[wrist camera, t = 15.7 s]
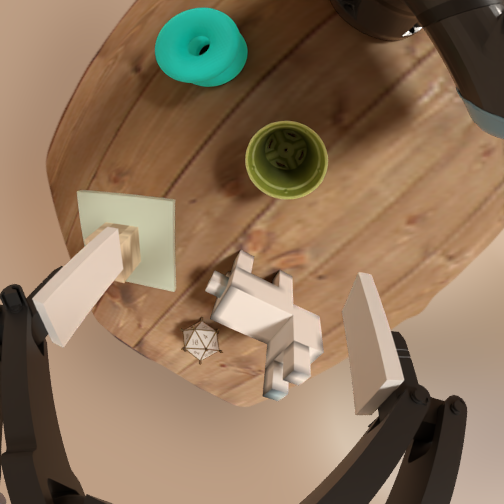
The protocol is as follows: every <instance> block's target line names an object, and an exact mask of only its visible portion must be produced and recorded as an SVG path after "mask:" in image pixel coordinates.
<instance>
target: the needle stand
mask: <svg viewBox="0 0 504 504" xmlns="http://www.w3.org/2000/svg"><path fill="white" fill-rule="evenodd" d="M77 198H78V207H79V215H80V222H81V229H82V235H83V241H84V247H85V246H86V245H85V239H86V238H87V237H88V236H90V235H91V234H92V233H93V232H94V231H96V230H97V229H98V228H99V227H100V226H102V225H103V224H104V223H105V222H108V223H115V224H122V225H128V226H135V227H138V230H139V244H140V255H141V262H140V263H139V265H138V266H137V267H136V268H135V270H134V271H133V272H132V274H131V275H130V276H129V278H128V279H127V280H126V281H127V282H131V283H136V284H140V285H145V286H149V287H154V288H159V289H163V290H168V291H173V292H175V290H176V271H175V199H168V198H159V197H150V196H141V195H132V194H122V193H112V192H101V191H89V190H79V191H77Z"/></svg>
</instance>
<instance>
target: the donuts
mask: <svg viewBox="0 0 504 504" xmlns="http://www.w3.org/2000/svg"><path fill="white" fill-rule="evenodd" d="M208 44H210V46H209V49H208V50H207V51H206V52H205V53H204V54H202V55H199V53H200V50H201V49H202V48H203V47H204V46H205V45H208ZM247 54H248V50H247V45H246V42H245V40H244V38H243V36H242V35H241V34H240V33H239V30H238V28H237V26H236V24H235V23H234V21H233V20H232V19H231V18H230V17H229V16H228V15H226V14H225V13H223V12H221V11H218V10H215V9H211V8H194V9H190V10H186V11H184V12H182V13H180V14H178V15H176V16H174V17H173V18H172V19H170V20H169V21H168V22H167V23H166V24H165V25H164V27H163V28H162V29H161V31H160V33H159V35H158V37H157V40H156V44H155V56H156V60H157V63H158V65H159V66H160V68H161V69H162V71H163V72H164V73H165V74H167V75H168V76H169V77H171V78H173V79H175V80H177V81H181V82H186V83H193V84H195V85H199V86H204V87H213V86H219V85H222V84H225V83H227V82H229V81H230V80H232V79H233V78H235V77H236V76H237V75H238V74H239V73H240V72H241V70H242V69H243V67H244V65H245V63H246V60H247Z"/></svg>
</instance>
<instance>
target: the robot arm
mask: <svg viewBox="0 0 504 504" xmlns="http://www.w3.org/2000/svg"><path fill="white" fill-rule="evenodd" d="M330 1H331V3H332V5H333V7H334V8H335V10H336V11H337V12H338V14H339V15H340V16H341V17H342V18H343V19H344V20H345V21H346V22H348V23H349V24H350V25H351V26H353V27H354V28H356V29H357V30H359V31H361V32H363V33H365V34H367V35H369V36H372V37H375V38H378V39H383V40H402V39H405V38H408V37H410V36H412V35H414V34H416V33H417V32H419V31H420V30H421V29H422V28H423V29H424V30H425V32H426V33H427V35H428V36H429V38H430V39H431V41H432V43H433V44H434V46H435V48H436V49H437V51H438V53H439V54H440V56H441V58H442V60H443V61H444V63H445V65H446V67H447V69H448V71H449V73H450V75H451V77H452V79H453V81H454V83H455V85H456V90H457V92H458V94H459V96H460V97H461V98H462V100H463V101H464V104H465V106H466V108H467V110H468V112H469V115H470V117H471V118H472V120H473V121H474V122H475V123H476V124H477V125H478V126H479V127H480V128H481V129H482V130H483V131H485V132H487V133H488V134H490V135H493V136H495V137H498V138H501V139H504V0H330ZM122 270H123V263H122V256H121V248H120V240H119V232H118V229H117V228H112V227H107V228H105V229H104V230H103V231H102V232H101V233H100V234H98V235H97V236H96V237H95V238H94V239H93V240H92V241H90V242H89V243H88V244H87V245H86V246H85V247H84V248H83V249H82V250H80V251H79V252H78V253H77V254H76V255H75V256H74V257H73V258H72V259H71V260H70V261H69V262H68V263H67V264H66V265H65V266H64V267H63V266H61V267H59V268H57V269H56V270H54V271H53V272H52V273H51V274H50V275H49V276H48V277H47V278H46V279H45V280H44V281H43V283H41V284H40V285H39V286H38V287H37V288H36V289H35V290H34V291H33V292H32V293H31V294H30V295H29V296H28V297H27V298H26V297H25V295H24V292H23V290H22V287H21V286H20V285H17V284H13V285H10V286H7V287H6V288H5V289H3V291H2V292H1V294H0V299H1V301H2V303H3V305H0V478H1V465H2V470H3V474H4V479H5V482H6V486H7V490H8V494H9V497H10V501H11V504H112V503H109V502H107V501H104V500H101V499H98V498H95V497H93V496H90V495H88V494H87V495H86V496H85V494H84V492H83V489H82V487H81V485H80V482H79V481H78V479H77V477H76V476H75V475H74V473H73V472H72V470H71V468H70V465H69V462H68V459H67V456H66V452H65V449H64V445H63V441H62V437H61V434H60V430H59V425H58V420H57V416H56V411H55V405H54V400H53V394H52V387H51V380H50V372H49V362H48V351H47V342H46V339H45V337H46V336H47V335H48V334H49V336H50V338H51V340H52V342H53V343H55V344H57V345H59V346H61V347H64V346H65V345H66V343H67V342H68V341H69V339H70V338H71V336H72V335H73V333H74V332H75V331H76V329H77V328H78V327H79V325H80V324H81V322H82V321H83V320H84V318H85V317H86V316H87V314H88V313H89V312H90V310H91V309H92V308H93V306H94V305H95V304H96V303H97V301H98V300H99V299H100V297H101V296H102V295H103V294H104V292H105V291H106V290H107V289H108V287H109V286H110V285H111V284H112V282H113V281H114V280H115V279H116V277H117V276H118V275H119V274H120V273H121V271H122ZM342 315H343V321H344V327H345V333H346V340H347V347H348V353H349V360H350V368H351V376H352V385H353V394H354V404H355V414H356V415H372V414H373V413H374V412H375V411H376V410H377V409H378V412H379V417H377V418H376V419H375V420H374V421H373V422H372V423H371V424H370V425H369V426H368V427H369V429H368V430H367V431H366V433H365V434H364V435H363V437H362V438H361V439H360V441H359V442H358V443H357V444H356V445H355V447H354V448H353V449H352V450H351V451H350V452H349V454H348V455H347V456H346V457H345V458H344V459H343V460H342V462H341V463H340V464H339V465H338V466H337V467H336V468H335V469H334V470H333V471H332V472H331V474H330V475H329V476H328V477H327V478H326V479H325V480H324V481H323V482H322V483H321V484H320V485H319V486H318V487H317V488H316V489H315V490H314V491H313V492H312V493H311V494H309V495H308V496H307V497H306V498H305V499H304V500H303V501H302V502H301V503H300V504H369V502H370V501H371V500H372V499H373V497H374V496H375V494H377V492H378V491H379V489H380V488H381V487H382V485H383V484H384V483H385V481H386V480H387V479H388V477H389V476H390V474H391V473H392V471H393V469H394V468H395V467H396V465H397V464H398V462H399V460H400V459H401V457H402V456H403V454H404V453H405V455H404V458H403V461H402V464H401V466H400V469H399V472H398V475H397V477H396V480H395V482H394V485H393V487H392V490H391V492H390V495H389V497H388V499H387V501H386V503H385V504H450V501H451V497H452V494H453V490H454V487H455V482H456V479H457V474H458V470H459V465H460V460H461V454H462V449H463V443H464V435H465V428H466V418H467V407H466V404H465V402H464V401H463V399H462V398H460V397H459V396H455V395H453V396H449V398H447V399H446V400H445V401H442V400H439V399H435V398H432V397H430V394H429V392H428V391H427V390H426V389H425V388H424V387H423V386H421V385H419V384H418V381H417V377H416V374H415V370H414V367H413V363H412V360H411V358H410V354H409V351H408V348H407V344H406V341H405V340H404V338H403V337H402V335H401V334H400V333H399V332H393V331H390V327H389V324H388V321H387V318H386V315H385V312H384V309H383V306H382V303H381V300H380V297H379V294H378V292H377V289H376V286H375V283H374V281H373V278H372V275H371V274H366V273H361V272H358V274H357V276H356V279H355V281H354V284H353V286H352V289H351V291H350V293H349V296H348V298H347V300H346V303H345V305H344V307H343V310H342ZM3 424H4V433H5V440H6V446H7V450H6V452H5V453H3V454H2V455H1V441H2V425H3ZM405 451H406V452H405ZM0 504H6V499H5V497H4V495H3V494H2V493H0Z"/></svg>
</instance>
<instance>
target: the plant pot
mask: <svg viewBox="0 0 504 504" xmlns="http://www.w3.org/2000/svg"><path fill="white" fill-rule="evenodd" d="M287 133H292V134H294V135H295V136H296V138H294V137H293V136H290V135H287ZM271 140H273V142H272V144H271V148H270V149H269V148H268V146H269V142H270V141H271ZM285 148H287V149H288V151H287V152H285V151H284V150H285ZM302 151H303V152H304V153H303V157H302V159H299V157H300V156H301V153H302ZM276 162H279V163H281V164H284V165H285V166H283V167H282V166H279V165H277V164H276ZM245 164H246V169H247V172H248V175H249V177H250V179H251V181H252V182H253V183H254V185H255V186H256V187H257V188H258V189H259V190H261V191H262V192H263V193H265V194H267V195H269V196H271V197H275V198H278V199H297V198H300V197H303V196H306V195H308V194H310V193H311V192H313V191H314V190H315V189H316V188H317V187H318V186H319V185H320V184H321V182H322V181H323V179H324V177H325V174H326V172H327V167H328V156H327V151H326V148H325V145H324V143H323V141H322V140H321V138H320V137H319V135H318V134H317V133H316V132H315V131H313V130H312V129H311V128H309V127H308V126H306V125H304V124H301V123H298V122H294V121H278V122H274V123H271V124H268V125H266V126H264V127H263V128H261V129H260V130H259V131H258V132H257V133H256V134H255V135H254V136H253V137H252V139H251V140H250V142H249V144H248V147H247V150H246V155H245Z"/></svg>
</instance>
